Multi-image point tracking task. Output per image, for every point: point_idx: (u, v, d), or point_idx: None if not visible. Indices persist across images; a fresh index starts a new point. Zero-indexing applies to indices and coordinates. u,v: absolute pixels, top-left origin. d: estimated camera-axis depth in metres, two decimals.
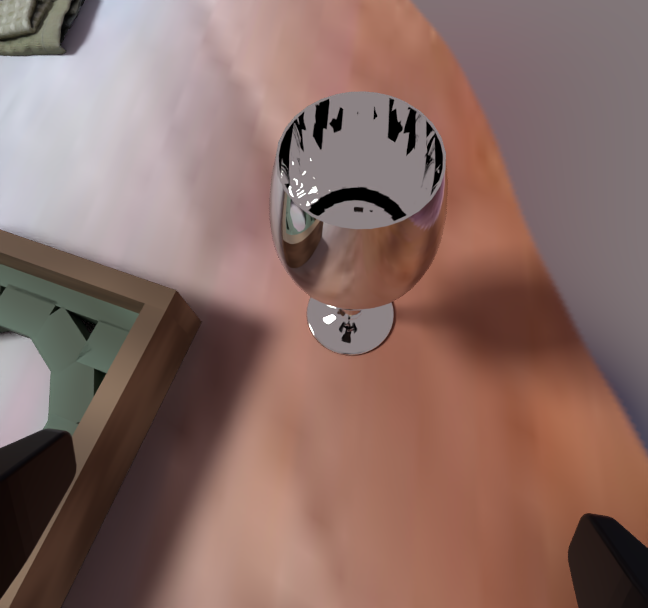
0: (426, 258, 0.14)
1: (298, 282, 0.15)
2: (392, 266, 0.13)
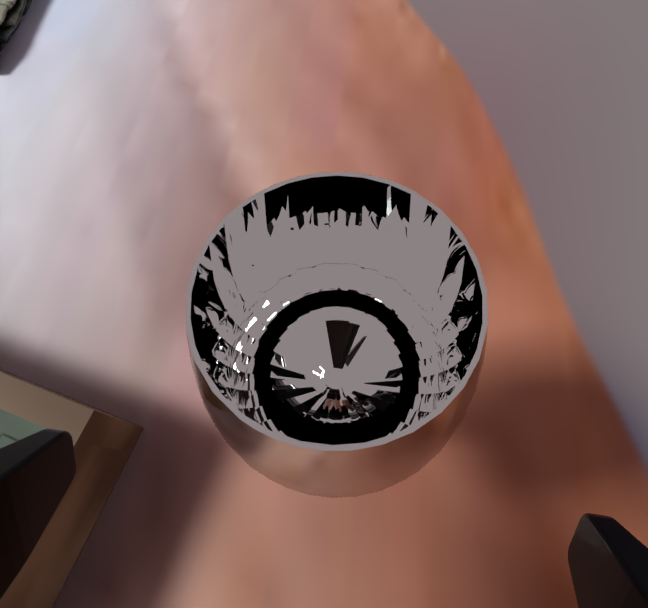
0: (447, 441, 0.09)
1: None
2: (391, 474, 0.08)
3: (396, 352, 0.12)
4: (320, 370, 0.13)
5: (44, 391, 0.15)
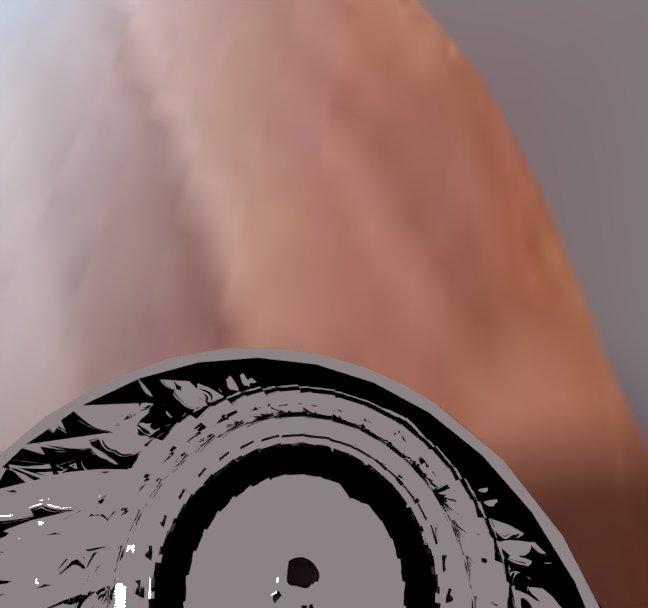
0: None
1: None
2: None
3: (396, 532, 0.08)
4: (278, 551, 0.08)
5: None
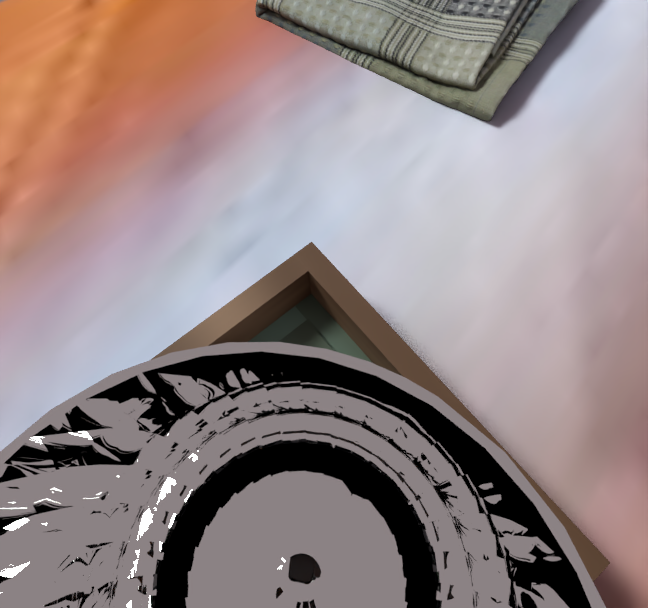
0: None
1: None
2: None
3: (397, 528, 0.08)
4: (279, 548, 0.08)
5: (567, 517, 0.16)
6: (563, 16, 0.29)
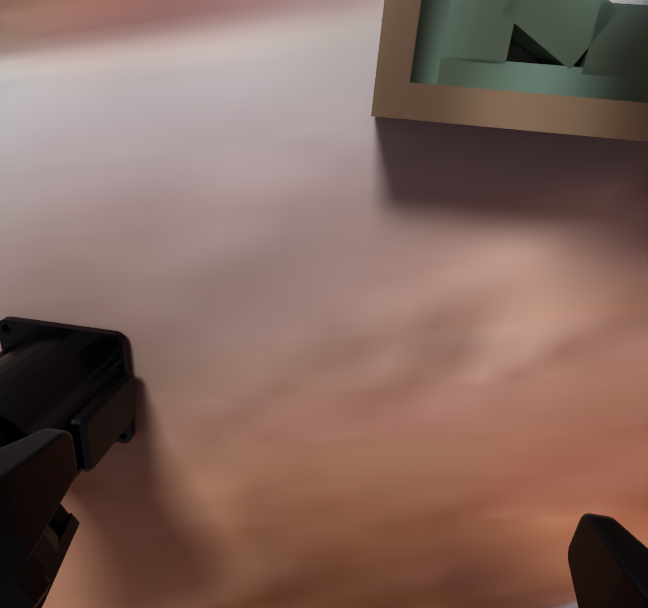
0: None
1: None
2: None
3: None
4: None
5: None
6: None
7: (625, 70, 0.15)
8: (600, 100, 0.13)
